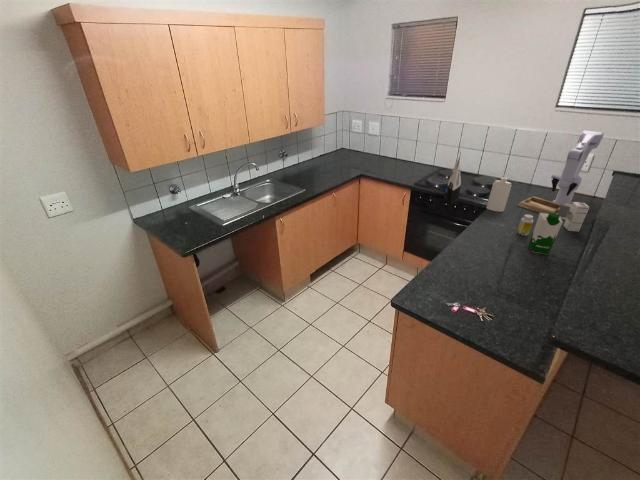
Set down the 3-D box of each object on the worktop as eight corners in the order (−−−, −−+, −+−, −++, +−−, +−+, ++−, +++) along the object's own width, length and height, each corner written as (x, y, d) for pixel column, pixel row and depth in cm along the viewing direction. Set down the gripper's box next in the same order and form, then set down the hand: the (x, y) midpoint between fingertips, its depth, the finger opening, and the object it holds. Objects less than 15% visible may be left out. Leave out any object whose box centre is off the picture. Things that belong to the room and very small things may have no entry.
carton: (532, 200, 205) (533, 195, 204) (562, 209, 192) (564, 205, 191) (518, 206, 197) (519, 202, 196) (549, 216, 184) (551, 212, 183)
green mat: (561, 211, 191) (562, 210, 191) (575, 215, 186) (575, 214, 186) (552, 216, 185) (552, 215, 185) (565, 220, 180) (565, 219, 180)
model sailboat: (459, 192, 218) (469, 148, 203) (457, 205, 199) (468, 158, 184) (444, 190, 222) (453, 147, 206) (441, 203, 202) (451, 156, 187)
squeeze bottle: (486, 206, 198) (485, 209, 194) (495, 175, 188) (494, 178, 184) (504, 209, 193) (503, 212, 190) (513, 178, 183) (513, 180, 180)
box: (562, 212, 188) (566, 202, 185) (570, 214, 185) (574, 205, 182) (557, 215, 185) (561, 205, 182) (564, 217, 182) (569, 207, 179)
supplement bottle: (531, 234, 167) (537, 217, 162) (523, 236, 165) (529, 219, 160) (522, 230, 171) (528, 212, 166) (514, 231, 170) (520, 214, 164)
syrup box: (579, 231, 169) (590, 206, 162) (566, 230, 170) (577, 206, 163) (574, 226, 174) (585, 202, 166) (562, 225, 175) (572, 201, 167)
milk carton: (529, 253, 151) (544, 215, 141) (525, 244, 159) (539, 207, 148) (550, 256, 149) (567, 218, 139) (545, 247, 156) (561, 210, 146)
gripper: (552, 168, 185) (544, 190, 191) (580, 175, 174) (571, 198, 181) (557, 166, 188) (549, 188, 195) (586, 173, 177) (576, 195, 184)
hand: (560, 193), depth 188 cm, fingers open, 7 cm apart
